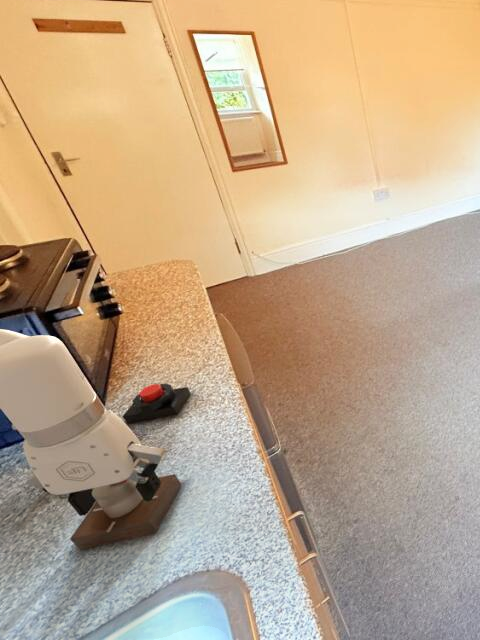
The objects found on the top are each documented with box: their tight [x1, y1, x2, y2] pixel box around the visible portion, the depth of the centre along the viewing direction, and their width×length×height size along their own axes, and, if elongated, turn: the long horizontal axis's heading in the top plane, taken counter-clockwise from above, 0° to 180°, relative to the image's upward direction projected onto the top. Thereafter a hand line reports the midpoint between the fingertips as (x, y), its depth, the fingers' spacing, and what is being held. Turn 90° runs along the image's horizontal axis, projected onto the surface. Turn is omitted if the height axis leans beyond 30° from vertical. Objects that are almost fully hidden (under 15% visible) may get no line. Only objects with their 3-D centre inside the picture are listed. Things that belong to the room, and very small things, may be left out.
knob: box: [92, 479, 143, 518], centre depth 61 cm, size 4×4×5 cm
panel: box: [69, 473, 182, 551], centre depth 63 cm, size 10×9×3 cm
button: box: [139, 383, 164, 402], centre depth 82 cm, size 3×3×2 cm
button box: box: [122, 383, 192, 425], centre depth 83 cm, size 9×6×4 cm
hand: (122, 498), depth 62 cm, fingers open, 7 cm apart
